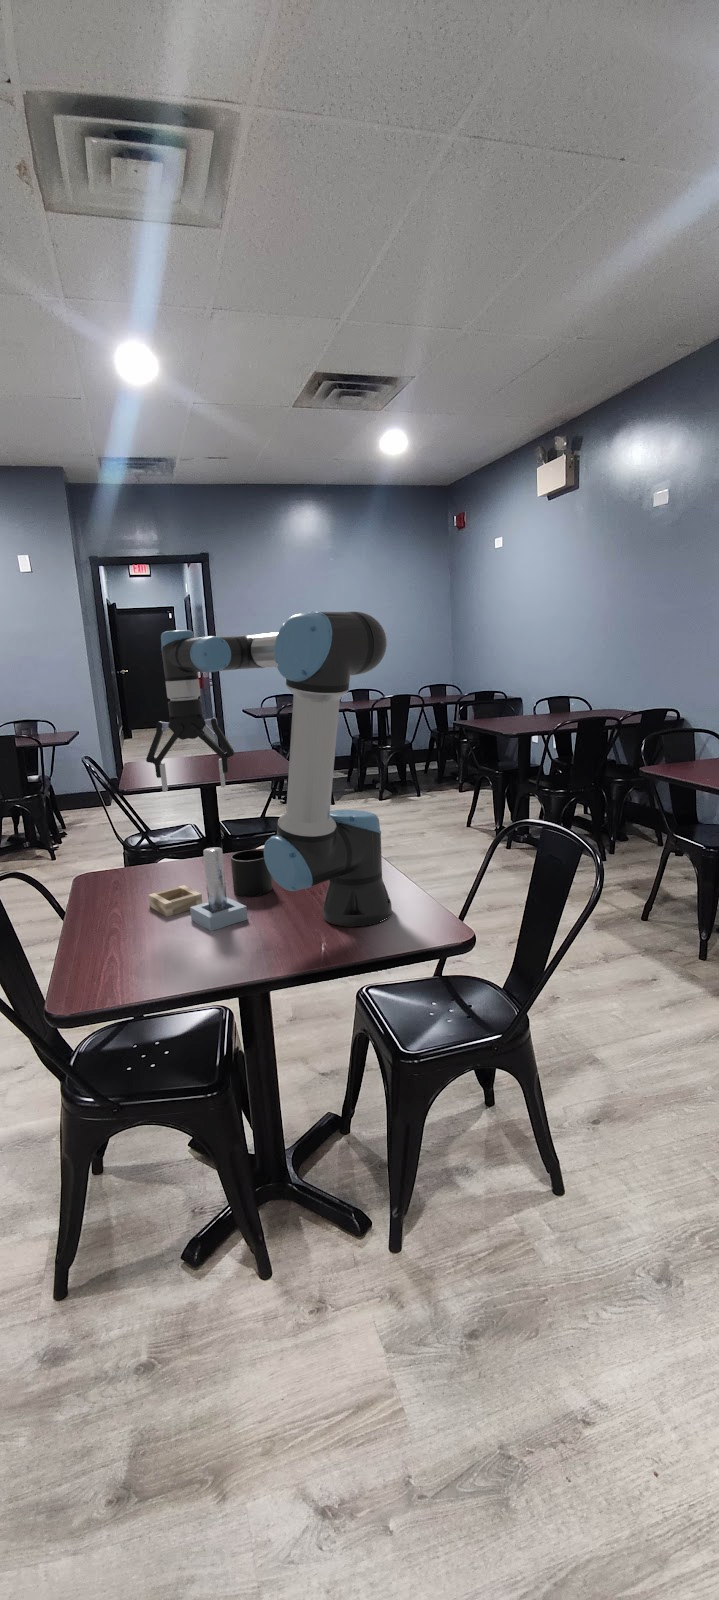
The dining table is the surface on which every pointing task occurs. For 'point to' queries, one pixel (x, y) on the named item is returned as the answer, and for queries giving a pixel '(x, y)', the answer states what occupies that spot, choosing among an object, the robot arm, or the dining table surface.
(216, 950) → the dining table surface
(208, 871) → the pin
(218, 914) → the socket block
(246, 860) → the mug
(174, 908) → the block
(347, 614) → the robot arm
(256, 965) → the dining table surface
